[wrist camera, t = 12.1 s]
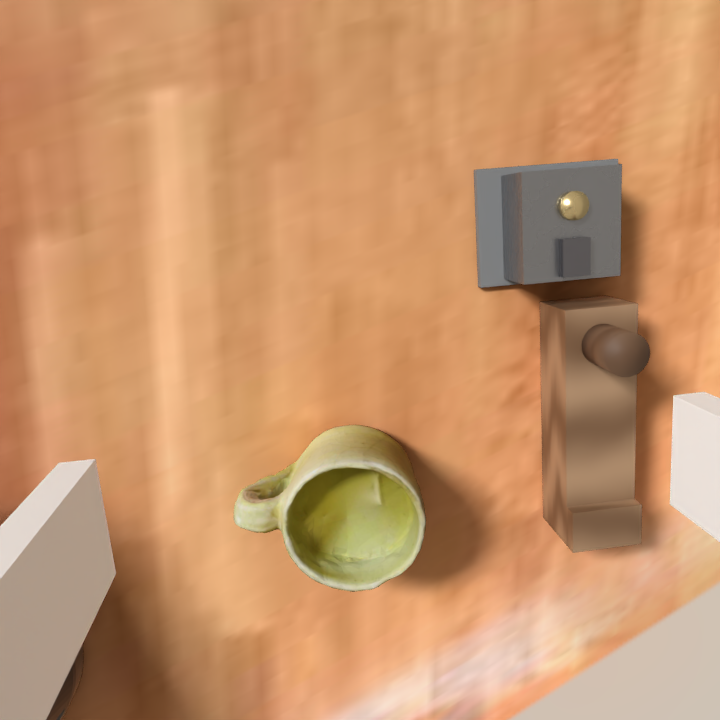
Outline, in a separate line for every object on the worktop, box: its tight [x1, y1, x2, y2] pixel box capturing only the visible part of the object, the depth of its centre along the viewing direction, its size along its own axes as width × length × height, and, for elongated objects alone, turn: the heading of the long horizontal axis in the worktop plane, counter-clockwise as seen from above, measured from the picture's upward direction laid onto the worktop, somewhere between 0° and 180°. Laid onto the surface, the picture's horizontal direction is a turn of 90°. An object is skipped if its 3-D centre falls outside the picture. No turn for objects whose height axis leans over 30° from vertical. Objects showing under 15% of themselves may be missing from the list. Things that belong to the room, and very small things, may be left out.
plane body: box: [540, 296, 650, 553], centre depth 45 cm, size 17×5×8 cm, turn 4°
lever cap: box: [501, 164, 622, 285], centre depth 43 cm, size 7×6×5 cm
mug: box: [234, 425, 426, 592], centre depth 45 cm, size 12×10×10 cm
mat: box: [474, 159, 618, 288], centre depth 46 cm, size 10×8×1 cm
